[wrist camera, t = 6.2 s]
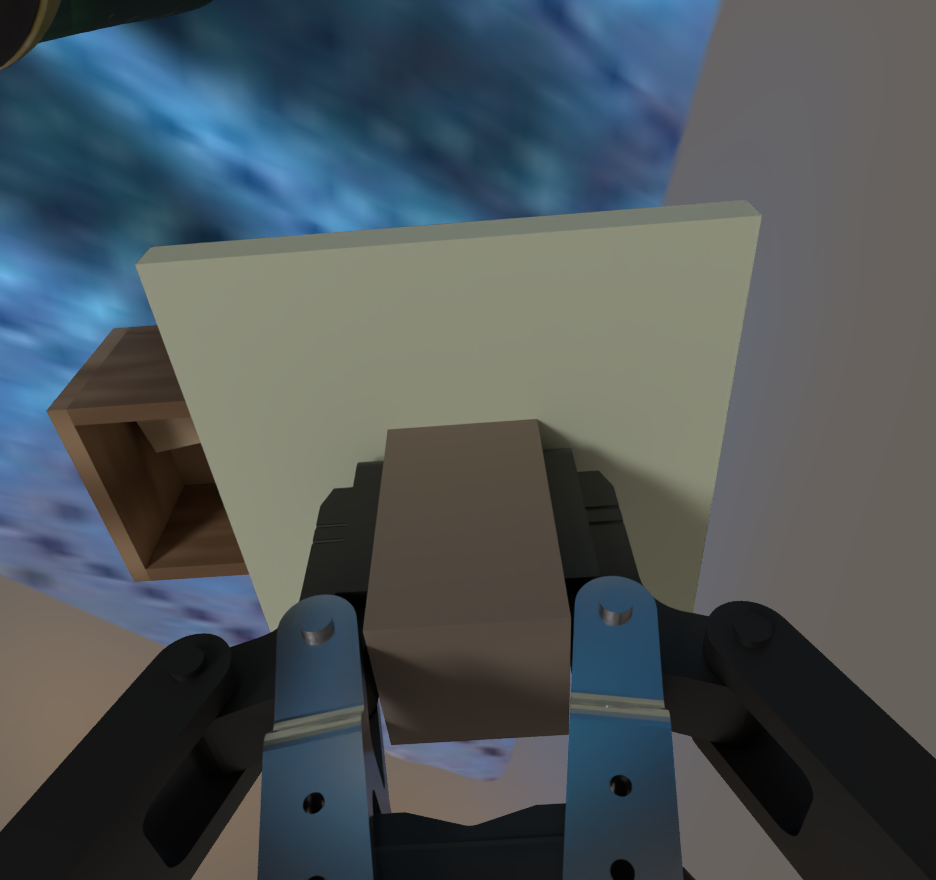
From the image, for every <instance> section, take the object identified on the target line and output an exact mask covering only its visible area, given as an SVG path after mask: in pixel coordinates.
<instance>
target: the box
mask: <svg viewBox="0 0 936 880" xmlns="http://www.w3.org/2000/svg"><path fill="white" fill-rule="evenodd" d="M47 413H48V415H49V417H50V419H51V421H52V423H53V425H54V427H55V429H56V431H57V432H58V434H59V436H60V438H61V440H62V442H63V444H64V446H65V448H66V450H67V452H68V454H69V456H70V458H71V460H72V462H73V463H74V465H75V467H76V469H77V471H78V473H79V475H80V477H81V479H82V481H83V483H84V485H85V487H86V489H87V491H88V493H89V495H90V496H91V498H92V500H93V502H94V504H95V506H96V508H97V510H98V512H99V514H100V516H101V518H102V520H103V522H104V524H105V526H106V527H107V529H108V531H109V533H110V535H111V537H112V539H113V541H114V543H115V545H116V547H117V549H118V551H119V553H120V555H121V557H122V558H123V560H124V562H125V564H126V566H127V568H128V570H129V572H130V574H131V576H132V578H133V580H134V582H140V581H155V580H170V579H186V578H201V577H216V576H232V575H247V574H249V572H248V569H247V566H246V564H245V561H244V558H243V556H242V553H241V550H240V547H239V545H238V542H237V539H236V537H235V534H234V531H233V529H232V526H231V523H230V520H229V518H228V515H227V512H226V510H225V507H224V504H223V501H222V499H221V496H220V493H219V491H218V488H217V485H216V483H215V480H214V477H213V474H212V472H211V469H210V466H209V464H208V461H207V458H206V455H205V453H204V450H203V447H202V445H201V443H198V444H193V445H189V446H184V447H180V448H175V449H171V450H167V451H162V452H158V453H156V451H155V449H154V448H153V446H152V445H151V443H150V442H149V440H148V439H147V437H146V436H145V434H144V433H143V431H142V429H141V428H140V426H139V425H138V423H137V422H136V421H147V420H161V419H175V418H189V417H191V415H190V412H189V409H188V407H187V404H186V401H185V399H184V396H183V393H182V391H181V388H180V385H179V382H178V380H177V377H176V374H175V372H174V369H173V366H172V363H171V361H170V358H169V355H168V353H167V350H166V347H165V345H164V342H163V339H162V336H161V334H160V331H159V328H158V326H157V325H155V326H142V327H129V328H115V329H113V330H112V331H111V332H110V333H109V335H108V336H107V337H106V338H105V340H104V341H103V342H102V343H101V344H100V346H99V347H98V348H97V349H96V351H95V352H94V353H93V354H92V356H91V357H90V358H89V359H88V360H87V362H86V363H85V364H84V365H83V367H82V368H81V369H80V370H79V371H78V373H77V374H76V375H75V376H74V378H73V379H72V380H71V381H70V383H69V384H68V385H67V386H66V387H65V389H64V390H63V391H62V392H61V394H60V395H59V396H58V397H57V398H56V400H55V401H54V402H53V403H52V405H51V406H50V407H49V408H48V409H47Z"/></svg>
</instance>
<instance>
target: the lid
mask: <svg viewBox="0 0 936 880" xmlns="http://www.w3.org/2000/svg"><path fill="white" fill-rule="evenodd" d="M761 217H762V215H761V214H760V213H759V212H757V210H755V208H753V207H752V206H751V205H750V204H749V203H748V202H747V201H746V200H740V201H728V202H715V203H702V204H689V205H676V206H664V207H651V208H638V209H626V210H613V211H600V212H588V213H575V214H562V215H550V216H537V217H524V218H512V219H499V220H486V221H474V222H461V223H448V224H436V225H423V226H410V227H398V228H385V229H372V230H360V231H347V232H334V233H322V234H309V235H296V236H284V237H271V238H258V239H246V240H233V241H220V242H208V243H195V244H182V245H170V246H157V247H150V249H149V250H148V251H147V252H146V253H145V254H144V255H143V256H142V257H141V258H140V260H139V261H138V262H137V263H136V264H135V266H136V269H137V271H138V274H139V277H140V280H141V282H142V285H143V288H144V290H145V293H146V296H147V298H148V301H149V304H150V307H151V309H152V312H153V315H154V317H155V320H156V323H157V326H158V328H159V331H160V334H161V336H162V339H163V342H164V345H165V347H166V350H167V353H168V355H169V358H170V361H171V363H172V366H173V369H174V372H175V374H176V377H177V380H178V382H179V385H180V388H181V391H182V393H183V396H184V399H185V401H186V404H187V407H188V409H189V412H190V415H191V418H192V420H193V423H194V426H195V428H196V431H197V434H198V437H199V439H200V442H201V445H202V447H203V450H204V453H205V455H206V458H207V461H208V464H209V466H210V469H211V472H212V474H213V477H214V480H215V483H216V485H217V488H218V491H219V493H220V496H221V499H222V501H223V504H224V507H225V510H226V512H227V515H228V518H229V520H230V523H231V526H232V529H233V531H234V534H235V537H236V539H237V542H238V545H239V547H240V550H241V553H242V556H243V558H244V561H245V564H246V566H247V569H248V572H249V575H250V577H251V580H252V583H253V585H254V588H255V591H256V594H257V596H258V599H259V602H260V604H261V607H262V610H263V612H264V615H265V618H266V621H267V623H268V626H269V629H270V631H271V632H272V631H274V630H276V629H277V628H278V625H279V622H280V620H281V619H282V617H283V616H284V614H285V613H286V612H287V611H288V610H289V609H290V608H291V607H292V606H294V605H295V604H296V603H298V602H299V600H300V595H301V591H302V586H303V582H304V577H305V573H306V568H307V564H308V559H309V555H310V550H311V545H312V544H313V536H314V532H315V529H316V523H317V518H318V514H319V509H320V506H321V504H322V503H323V502H324V500H325V499H326V498H327V497H328V495H329V494H330V493H331V491H332V490H333V489H334V488H347V487H353V483H354V477H355V471H356V466H357V463H358V462H370V461H384V463H383V471H382V479H381V487H380V495H379V503H378V511H377V520H376V528H375V536H374V544H373V552H372V560H371V568H370V577H369V585H368V593H367V601H366V609H365V617H364V625H363V634H364V638H365V642H366V646H367V650H368V654H369V658H370V662H371V666H372V670H373V674H374V678H375V682H376V686H377V690H378V694H379V698H380V702H381V706H382V710H383V714H384V718H385V722H386V726H387V730H388V734H389V738H390V742H391V745H400V744H417V743H434V742H451V741H468V740H485V739H502V738H519V737H535V736H552V735H569V697H570V693H569V692H570V646H571V615H570V609H569V603H568V597H567V591H566V585H565V580H564V574H563V568H562V562H561V556H560V550H559V544H558V539H557V533H556V527H555V521H554V515H553V509H552V504H551V498H550V492H549V486H548V480H547V474H546V468H545V463H544V457H543V451H542V450H546V449H560V448H571V449H572V452H573V456H574V461H575V465H576V469H577V472H583V471H598V470H599V471H600V472H601V473H602V474H603V475H604V477H605V478H606V479H607V480H608V481H609V482H610V483H611V484H612V485H613V486H614V489H615V493H616V496H617V500H618V503H619V508H620V510H621V514H622V517H623V523H624V524H625V528H626V531H627V535H628V538H629V542H630V546H631V549H632V553H633V556H634V560H635V563H636V567H637V570H638V574H639V577H640V580H641V582H642V584H643V586H644V587H645V588H646V589H647V590H648V591H649V592H650V593H651V595H652V596H653V597H654V598H655V599H657V600H658V601H659V602H661V603H663V604H665V605H667V606H669V607H671V608H674V609H677V610H681V611H685V612H690V613H693V609H694V603H695V597H696V592H697V586H698V580H699V574H700V568H701V563H702V557H703V551H704V545H705V540H706V534H707V528H708V522H709V517H710V511H711V505H712V499H713V493H714V488H715V482H716V476H717V470H718V465H719V459H720V453H721V447H722V442H723V436H724V430H725V424H726V419H727V412H728V407H729V401H730V396H731V390H732V384H733V378H734V372H735V366H736V361H737V355H738V349H739V344H740V338H741V332H742V326H743V321H744V314H745V309H746V303H747V298H748V292H749V286H750V280H751V274H752V269H753V263H754V257H755V251H756V245H757V240H758V234H759V228H760V223H761Z"/></svg>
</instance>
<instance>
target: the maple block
mask: <svg viewBox="0 0 936 880" xmlns="http://www.w3.org/2000/svg"><path fill="white" fill-rule="evenodd" d="M136 422H137V423H138V425H139V426H140V428H141V429H142V431H143V433H144V434H145V436H146V437H147V439H148V440H149V442H150V443H151V445H152V446H153V448H154V449H155V451H156V453H158V452H162V451H167V450H171V449H175V448H180V447H184V446H189V445H193V444H198V443H201V442H200V439H199V437H198V434H197V431H196V428H195V426H194V423H193V420H192V418H191V417H189V418H175V419H161V420H147V421H136Z"/></svg>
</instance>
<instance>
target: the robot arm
mask: <svg viewBox="0 0 936 880" xmlns="http://www.w3.org/2000/svg"><path fill="white" fill-rule="evenodd" d="M542 451H543V457H544V463H545V468H546V474H547V480H548V486H549V492H550V498H551V504H552V509H553V515H554V521H555V527H556V533H557V539H558V544H559V550H560V556H561V562H562V568H563V574H564V580H565V585H566V591H567V597H568V603H569V609H570V615H571V646H570V666H571V673H572V683H571V684H572V685H571V700H570V718H569V743H568V765H567V788H566V803H565V804H548V805H535V806H532V807H529V808H526V809H523V810H520V811H517V812H514V813H511V814H508V815H505V816H502V817H499V818H496V819H493V820H490V821H487V822H484V823H481V824H478V825H474V826H466V825H465V826H464V825H460V824H456V823H451V822H446V821H442V820H438V819H433V818H428V817H424V816H419V815H415V814H410V813H391V808H390V801H389V793H388V783H387V774H386V764H385V754H384V745H383V735H382V726H381V716H380V707H379V703H378V698H379V694H378V690H377V686H376V682H375V678H374V674H373V670H372V666H371V662H370V658H369V654H368V650H367V646H366V642H365V638H364V634H363V625H364V617H365V609H366V601H367V593H368V585H369V577H370V568H371V560H372V552H373V544H374V536H375V528H376V520H377V511H378V503H379V495H380V487H381V479H382V471H383V463H384V461H370V462H358V463H357V466H356V471H355V477H354V483H353V487H347V488H334V489H333V490H332V491H331V493H330V494H329V495H328V497H327V498H326V499H325V500H324V502H323V503H322V504H321V506H320V509H319V514H318V518H317V523H316V529H315V532H314V536H313V544H312V545H311V550H310V555H309V559H308V564H307V568H306V573H305V577H304V582H303V586H302V591H301V595H300V600H299V602H298V603H296V604H295V605H294V606H292V607H291V608H290V609H289V610H288V611H287V612H286V613H285V614H284V616H283V617H282V619H281V620H280V622H279V625H278V628H277V629H276V630H274V631H272V632H270V633H269V634H267V635H264V636H262V637H259V638H256V639H253V640H250V641H248V642H245V643H242V644H239V645H236V646H233V647H230V648H229V646H228V644H227V643H226V642H225V641H224V640H223V639H222V638H220V637H218V636H216V635H212V634H204V633H203V634H194V635H189V636H186V637H184V638H181V639H179V640H177V641H175V642H173V643H172V644H170V645H169V646H167V647H166V648H165V649H163V650H162V651H161V652H160V653H159V654H158V655H157V656H156V658H155V659H154V660H153V661H152V662H151V663H150V664H149V665H148V666H147V668H146V669H145V670H144V671H143V672H142V673H141V674H140V675H139V677H138V678H137V679H136V680H135V681H134V682H133V683H132V684H131V686H130V687H129V688H128V689H127V690H126V691H125V692H124V693H123V695H122V696H121V697H120V698H119V699H118V700H117V701H116V703H115V704H114V705H113V706H112V707H111V708H110V709H109V710H108V711H107V712H106V714H105V715H104V716H103V717H102V718H101V719H100V721H98V723H97V724H96V725H95V726H94V727H93V728H92V729H91V730H90V732H89V733H88V734H87V735H86V736H85V737H84V738H83V740H82V741H81V742H80V743H79V744H78V745H77V746H76V747H75V749H74V750H73V751H72V752H71V753H70V754H69V755H68V756H67V757H66V759H65V760H64V761H63V762H62V763H61V764H60V765H59V767H58V768H57V769H56V770H55V771H54V772H53V773H52V774H51V775H50V777H49V778H48V779H47V780H46V781H45V782H44V783H43V784H42V786H41V787H40V788H39V789H38V790H37V792H35V793H34V795H33V796H32V797H31V798H30V799H29V800H28V801H27V803H26V804H25V805H24V806H23V807H22V808H21V809H20V810H19V812H18V813H17V814H16V815H15V816H14V817H13V818H12V819H11V820H10V822H9V823H8V824H7V825H6V826H5V827H4V828H3V829H2V831H1V832H0V880H191V878H192V877H193V875H194V874H195V872H196V871H197V869H198V867H199V866H200V864H201V863H202V861H203V860H204V858H205V857H206V855H207V854H208V852H209V851H210V849H211V848H212V846H213V845H214V843H215V842H216V840H217V839H218V837H219V835H220V834H221V832H222V831H223V829H224V828H225V826H226V825H227V823H228V822H229V820H230V819H231V817H232V816H233V814H234V813H235V811H236V810H237V808H238V807H239V805H240V803H241V802H242V801H243V799H244V797H245V796H246V794H247V793H248V791H249V790H250V788H251V787H252V785H253V784H254V782H255V781H256V779H257V778H258V776H259V775H260V773H261V772H262V783H261V784H262V785H261V806H260V807H261V808H260V829H259V853H258V876H257V880H695V879H694V878H693V877H692V876H691V874H690V873H689V872H688V871H687V870H686V869H685V868H684V867H683V866H682V855H681V844H680V831H679V818H678V806H677V793H676V780H675V768H674V756H673V743H672V732H676V733H680V734H684V735H688V736H691V737H692V739H693V741H694V742H695V744H696V745H697V746H698V748H699V749H700V750H701V751H702V753H703V754H704V755H705V756H706V758H707V759H708V760H709V761H710V763H711V764H712V765H713V766H714V768H715V769H716V770H717V772H718V773H719V774H720V775H721V777H722V778H723V779H724V780H725V782H726V783H727V784H728V785H729V787H730V788H731V789H732V790H733V792H734V793H735V794H736V795H737V797H738V798H739V799H740V801H741V802H742V803H743V804H744V806H745V807H746V808H747V809H748V811H749V812H750V813H751V814H752V816H753V817H754V818H755V819H756V821H757V822H758V823H759V824H760V826H761V827H762V828H763V829H764V831H765V832H766V833H767V835H768V836H769V837H770V838H771V840H772V841H773V842H774V843H775V845H776V846H777V847H778V848H779V850H780V851H781V852H782V853H783V855H784V856H785V857H786V858H787V860H788V861H789V862H790V864H791V865H792V866H793V867H794V868H795V870H796V871H797V872H798V874H799V875H800V876H801V877H802V879H803V880H936V759H935V758H934V757H933V756H932V755H931V754H930V753H929V752H928V751H926V750H925V749H924V748H923V747H922V746H921V745H920V744H919V743H918V742H917V741H916V740H915V739H914V738H913V737H911V736H910V735H909V734H908V733H907V732H906V731H905V730H904V729H903V728H902V727H900V725H899V724H897V723H896V722H895V721H894V720H893V719H892V718H891V717H890V716H889V715H888V714H886V712H884V710H882V709H881V708H880V707H879V706H878V705H877V704H876V703H875V702H874V701H873V700H872V699H871V698H870V697H868V696H867V695H866V694H865V693H864V692H863V691H862V690H861V689H859V687H858V686H857V685H856V684H854V683H853V682H852V681H851V680H850V679H849V678H848V677H847V676H846V675H845V674H844V673H843V672H842V671H840V670H839V669H838V668H837V667H836V666H835V665H834V664H833V663H832V662H831V661H830V660H829V659H828V658H826V657H825V656H824V655H823V654H822V653H821V652H820V651H819V650H818V649H817V648H815V646H813V645H812V644H811V643H810V642H809V641H808V640H807V639H806V638H805V637H804V636H803V635H802V634H801V633H799V632H798V631H797V630H796V629H795V628H794V627H793V626H792V625H791V624H790V623H789V622H788V621H787V620H786V619H785V618H783V617H782V616H781V615H780V614H778V613H777V612H775V611H773V610H772V609H770V608H768V607H766V606H763V605H761V604H758V603H754V602H748V601H733V602H728V603H725V604H723V605H721V606H719V607H717V608H716V609H715V610H714V611H713V612H712V613H711V614H710V616H704V615H699V614H695V613H690V612H685V611H681V610H677V609H674V608H671V607H669V606H667V605H665V604H663V603H661V602H659V601H658V600H657V599H655V598H654V597H653V596H652V595H651V593H650V592H649V591H648V590H647V589H646V588H645V587H644V586H643V584H642V582H641V580H640V577H639V574H638V570H637V567H636V563H635V560H634V556H633V553H632V549H631V546H630V542H629V538H628V535H627V531H626V528H625V524H624V523H623V517H622V514H621V510H620V508H619V503H618V500H617V496H616V493H615V489H614V486H613V485H612V484H611V483H610V482H609V481H608V480H607V479H606V478H605V477H604V475H603V474H602V473H601V472H600V471H599V470H598V471H583V472H577V469H576V465H575V461H574V456H573V452H572V449H571V448H560V449H546V450H542Z"/></svg>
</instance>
